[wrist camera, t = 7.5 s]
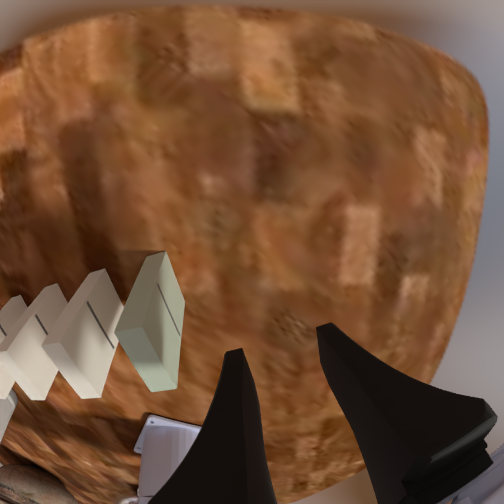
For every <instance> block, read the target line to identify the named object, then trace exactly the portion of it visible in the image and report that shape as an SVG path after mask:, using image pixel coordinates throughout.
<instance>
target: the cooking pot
mask: <svg viewBox="0 0 504 504" xmlns="http://www.w3.org/2000/svg"><path fill="white" fill-rule="evenodd" d="M0 504H79V503H78V502H77V500H76V499H75V497H74V496H73V495H72V494H71V493H70V492H69V491H68V490H67V489H66V488H65V487H64V486H63V485H62V484H61V483H60V482H59V481H58V480H57V478H55V477H54V476H53V475H51V474H50V473H48V472H46V471H44V470H42V469H40V468H38V467H35V466H32V465H28V466H27V465H14V464H9V465H4V466H2V467H0Z"/></svg>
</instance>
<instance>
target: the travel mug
mask: <svg viewBox="0 0 504 504" xmlns="http://www.w3.org/2000/svg"><path fill="white" fill-rule="evenodd" d="M17 403H18V399H17V396H16V394H15V392H14V391H13V389H12V388H11V390H10V392H9V394H8V396H7V398H6V399H0V442H1V440H2V437H3V435H4V432H5V430H6V427H7V425H8V423H9V420H10V418H11V416H12V414H13V411H14V409H15V407H16V405H17Z"/></svg>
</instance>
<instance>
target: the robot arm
mask: <svg viewBox="0 0 504 504" xmlns="http://www.w3.org/2000/svg"><path fill="white" fill-rule="evenodd" d="M316 330H317V338H318V346H319V355H320V363H321V365H322V368H323V371H324V374H325V376H326V379H327V381H328V384H329V386H330V388H331V390H332V392H333V393H334V395H335V397H336V399H337V401H338V403H339V405H340V407H341V409H342V411H343V412H344V414H345V416H346V418H347V420H348V422H349V424H350V426H351V428H352V430H353V432H354V435H355V437H356V440H357V443H358V445H359V448H360V450H361V453H362V456H363V459H364V462H365V464H366V467H367V470H368V473H369V476H370V479H371V482H372V485H373V489H374V492H375V495H376V498H377V502H378V504H446V503H447V502H449V501H451V500H452V499H453V500H452V503H451V504H504V444H503V445H502V446H500V447H499V448H498V449H497V450H495V451H494V452H493V453H492V454H490V455H489V454H488V453H487V451H486V450H485V448H487V443H486V442H485V441H484V438H485V437H486V436H487V434H488V433H489V432H490V430H491V429H492V428H493V426H494V425H495V423H496V421H497V415H496V414H495V412H494V411H493V410H492V408H491V407H490V406H489V405H488V403H486V401H485V400H484V399H481V398H476V397H470V396H465V395H460V394H456V393H452V392H449V391H445V390H442V389H439V388H436V387H433V386H431V385H428V384H425V383H423V382H420V381H418V380H416V379H414V378H412V377H409V376H407V375H405V374H403V373H401V372H400V371H398V370H396V369H394V368H392V367H391V366H389V365H387V364H386V363H384V362H383V361H381V360H379V359H378V358H376V357H375V356H373V355H372V354H371V353H369V352H368V351H366V350H365V349H364V348H362V347H361V346H360V345H358V344H357V343H356V342H354V341H353V340H352V339H351V338H350V337H348V336H347V335H346V334H345V333H344V332H342V331H341V330H340V329H339V328H338V327H337V326H336V325H334V324H333V323H328V324H325V325H321V326H318V327H316ZM134 451H135V452H136V453H140V454H141V464H140V475H139V488H138V491H139V498H138V502H137V504H277V502H276V498H275V494H274V490H273V486H272V482H271V478H270V474H269V470H268V465H267V461H266V456H265V450H264V441H263V432H262V423H261V414H260V405H259V400H258V396H257V391H256V387H255V383H254V379H253V377H252V374H251V371H250V368H249V366H248V363H247V360H246V357H245V355H244V352H243V349H242V348H240V349H236V350H231V351H227V352H226V353H225V355H224V361H223V366H222V371H221V374H220V378H219V382H218V385H217V388H216V392H215V395H214V398H213V401H212V403H211V406H210V408H209V411H208V413H207V416H206V418H205V421H204V423H203V425H202V427H200V426H195V425H191V424H187V423H183V422H178V421H174V420H171V419H167V418H163V417H159V416H156V415H149V416H148V418H147V420H146V422H145V424H144V427H143V429H142V431H141V433H140V436H139V438H138V440H137V442H136V445H135V447H134ZM129 504H136V503H135V502H130V503H129Z"/></svg>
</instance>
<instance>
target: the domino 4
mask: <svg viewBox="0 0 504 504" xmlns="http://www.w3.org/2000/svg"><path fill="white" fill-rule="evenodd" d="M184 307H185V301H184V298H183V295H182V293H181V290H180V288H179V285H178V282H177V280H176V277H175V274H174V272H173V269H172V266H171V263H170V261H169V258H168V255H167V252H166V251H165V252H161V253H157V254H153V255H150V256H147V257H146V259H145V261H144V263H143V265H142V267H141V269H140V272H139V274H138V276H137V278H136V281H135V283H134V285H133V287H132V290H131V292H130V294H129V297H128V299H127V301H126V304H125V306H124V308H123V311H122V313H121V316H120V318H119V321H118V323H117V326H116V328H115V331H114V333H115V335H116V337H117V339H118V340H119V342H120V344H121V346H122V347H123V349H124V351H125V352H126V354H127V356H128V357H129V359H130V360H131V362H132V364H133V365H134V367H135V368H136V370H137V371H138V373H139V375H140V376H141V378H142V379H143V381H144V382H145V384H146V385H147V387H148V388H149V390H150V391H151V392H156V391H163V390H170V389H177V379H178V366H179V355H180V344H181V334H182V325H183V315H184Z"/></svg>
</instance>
